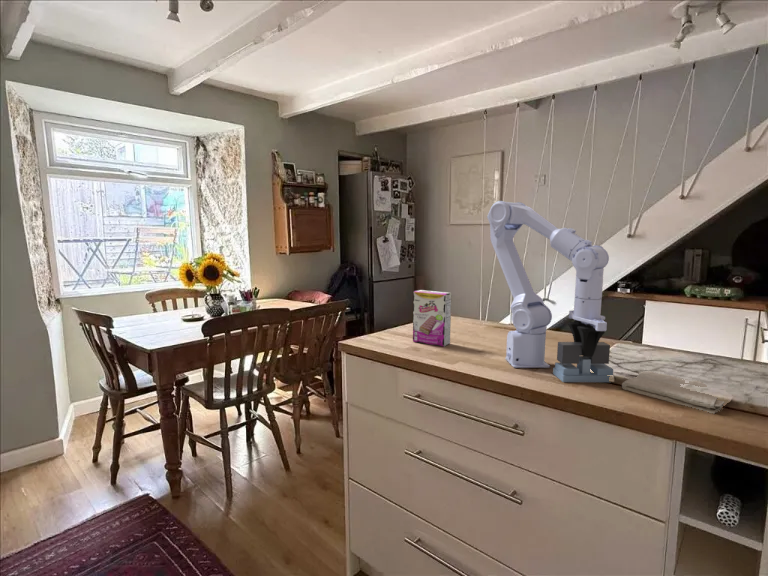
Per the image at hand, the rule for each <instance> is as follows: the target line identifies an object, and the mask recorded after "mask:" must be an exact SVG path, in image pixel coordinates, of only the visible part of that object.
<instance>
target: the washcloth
mask: <svg viewBox="0 0 768 576" xmlns="http://www.w3.org/2000/svg"><path fill="white" fill-rule="evenodd" d="M640 372H641V373H640ZM640 372H639V375H638V376H637V378H636V377H635V376H634V377H632V378H633V379H630V378H628V379H626V380H624V381H623V382H622V383H621V388H622V389H623V390H625V391H628V392H632V393H635V394H640V395H642V396H647V397H651V398H654V399H658V400H662V401H665V402H670V403H673V404H676V405H681V406H684V405H685V407H687V406H688V408H691V407H692V408H691V409H694V408H696V409H695V410H698V409H699V410H698V411H701V410H703V411H702V412H704V411H707V412H706V413H708V412H709V413H708V414H712V413H713V414H712V415H715V413H719V412H721V411H722V410H723V409H722V407H723V406H724V405H723V404H724V403H725V402H724V401H720V400H717V399H718V398H717V397H714V396H712V395H709V394H705V393H700V392H697V391H690V389H686V388H683V387H680V386H681V385H680V384H683V385H684V384H690V385H695V386H698V387H699V386H700V387H707V384H705V383H703V381H700V380H692V381H689V383H685V380H688V379H686V378H682V377H677V376H675V375H671V374H666V373H659V372H655V371H652V370H643V372H642V371H640ZM682 379H683V380H682ZM684 379H685V380H684ZM721 409H722V410H721ZM720 410H721V411H720ZM718 411H719V412H718Z"/></svg>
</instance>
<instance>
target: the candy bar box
mask: <svg viewBox="0 0 768 576" xmlns="http://www.w3.org/2000/svg"><path fill="white" fill-rule="evenodd" d="M412 301H413V302H412V303H413V309H412V311H413V312H412V314H413V315H412V316H413V317H412V342H413V343H414V342H415V343H421V344H424V345H425V344H426V345H433V346H438V347H446V346H448V345H450V344H451V325H452V324H451V323H452V322H451V320H452V317H451V316H452V293H451V292H447V291H435V290H425V289H418V290H414V291H413V300H412Z"/></svg>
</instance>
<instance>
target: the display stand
mask: <svg viewBox="0 0 768 576" xmlns="http://www.w3.org/2000/svg"><path fill="white" fill-rule="evenodd" d="M590 369H591V370H592V371H593V372H594V373H591V372H590ZM552 374H553V375H554V376H555V377H556V378H557V379H559V381H561V382H562V383H610V382H609V377H610V376H607V375H614V368H613V367H611V366H610V365H608V364H591V359H589V358H588V357H585V356H579V364H576V366H575V365H574V364H562V363H560V362H559V361H558V362H557V361H556V362H555V363H554V367H553V368H552Z"/></svg>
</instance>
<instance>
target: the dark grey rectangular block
mask: <svg viewBox="0 0 768 576" xmlns="http://www.w3.org/2000/svg"><path fill="white" fill-rule="evenodd" d="M610 348H611V345H610V344H608V343H606V342H604V341H599V342H598V344H597V346H596V349H595V352H594V355H593V357H588V358H589V359H591V364H606V365H609V364H610V362H609V361H610V353H611V349H610ZM556 353H557V354H556V361H558V363H562V364H573V365H574V364H575V365H577V364H579V356H583V354H582V342H574V341H557V352H556Z"/></svg>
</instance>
